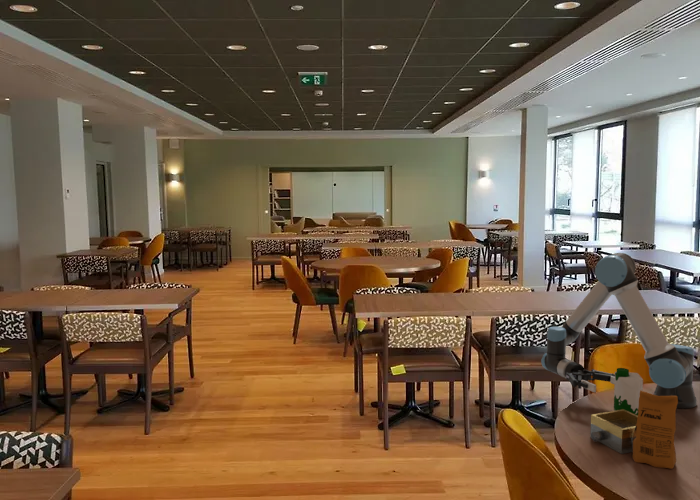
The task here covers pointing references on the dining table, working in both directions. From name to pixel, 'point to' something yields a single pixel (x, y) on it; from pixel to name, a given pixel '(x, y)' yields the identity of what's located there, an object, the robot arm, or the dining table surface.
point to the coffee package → (655, 430)
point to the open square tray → (614, 429)
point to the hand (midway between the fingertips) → (609, 386)
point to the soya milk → (627, 390)
